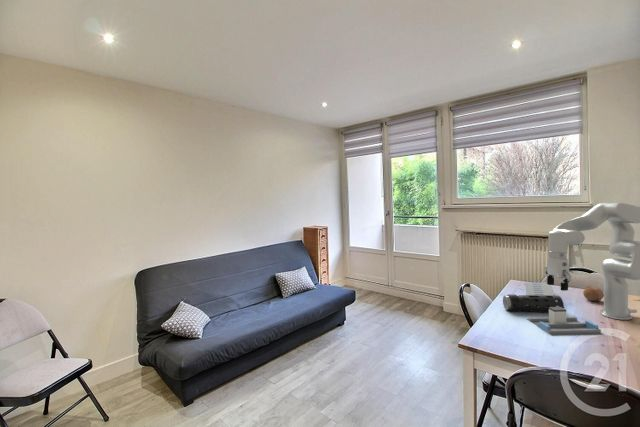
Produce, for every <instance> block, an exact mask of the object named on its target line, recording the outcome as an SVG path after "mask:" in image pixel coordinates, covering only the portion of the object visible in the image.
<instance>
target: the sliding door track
mask: <svg viewBox="0 0 640 427" xmlns="http://www.w3.org/2000/svg"><path fill="white" fill-rule="evenodd" d="M526 320H527V321H528V322H530V323H532V324H533V325H535V326H536V327H538V328H539V329H540V330H542V331H544V332H545V333H547V334H549V335H550V336H552V337H560V336H561V337H563V336H564V337H566V336H567V337H570V336H571V337H572V336H605V334H603V333H602V329H600V328H599V325H598V324H596V323H594V322H592V321H590V320H585V321H584V322H583V321H582V322H580V321H579V320H578V317H577V316H566V323H550V322H549V316H547V317H546V316H545V317H544V316H543V317H542V316H541V317H540V316H539V317H528V318H526Z"/></svg>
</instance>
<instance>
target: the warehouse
mask: <svg viewBox="0 0 640 427" xmlns="http://www.w3.org/2000/svg"><path fill="white" fill-rule="evenodd" d="M552 286H553V285H547V281H546V282H545V281H543V282H539V281H537V282H530V281H529V282H524V295H536V296H556V295H555V292H554V289H553V287H552Z"/></svg>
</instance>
